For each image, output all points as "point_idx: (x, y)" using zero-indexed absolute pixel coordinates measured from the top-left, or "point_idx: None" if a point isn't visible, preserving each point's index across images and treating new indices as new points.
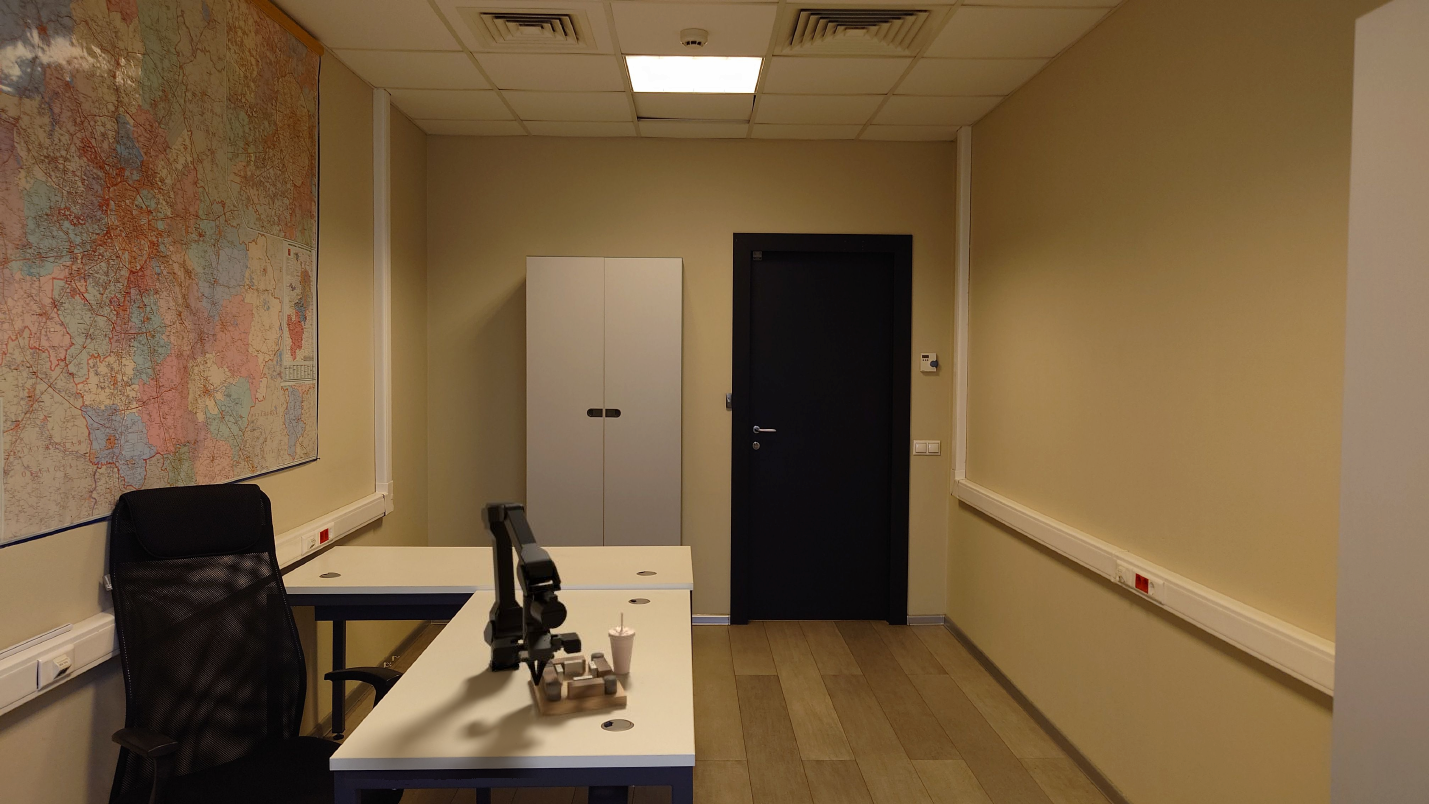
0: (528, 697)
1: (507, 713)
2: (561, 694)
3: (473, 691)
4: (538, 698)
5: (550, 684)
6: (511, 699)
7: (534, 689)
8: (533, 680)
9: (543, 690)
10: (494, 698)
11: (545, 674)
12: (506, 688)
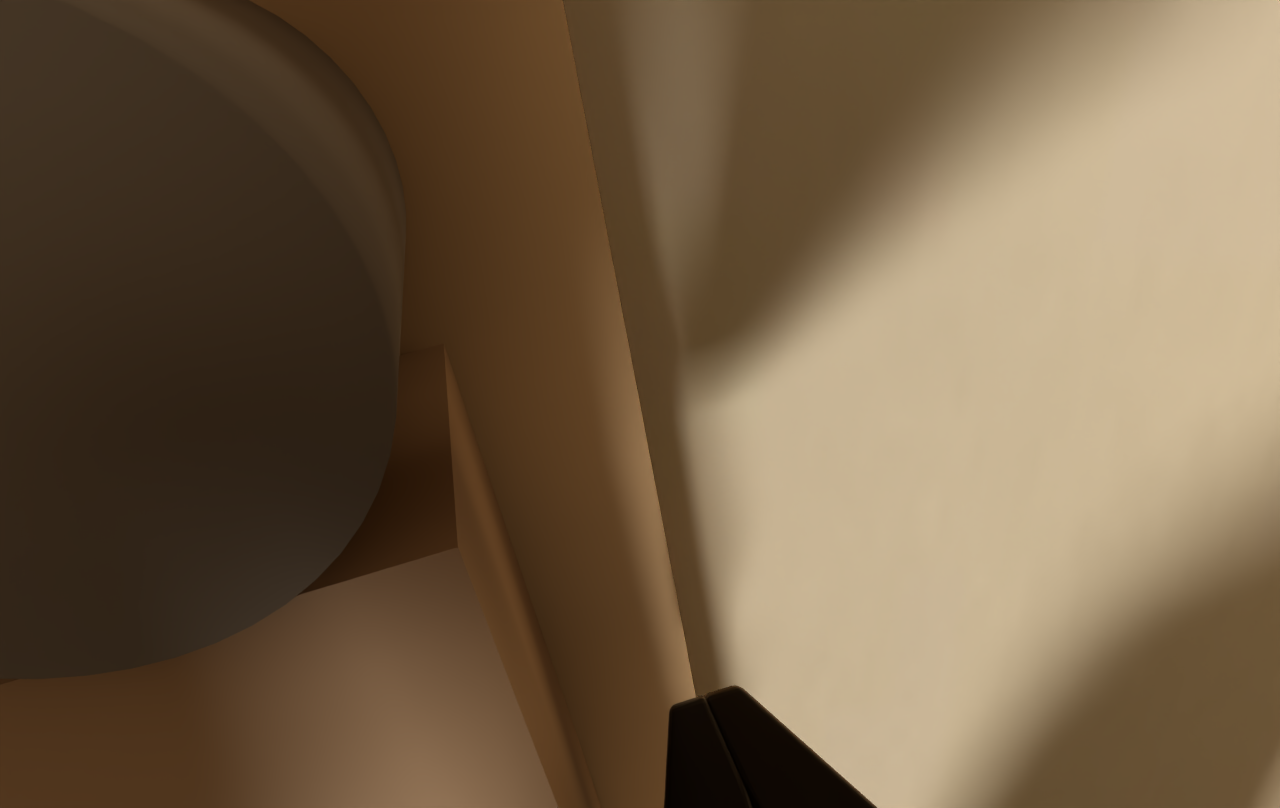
0: (753, 580)
1: (1097, 57)
2: None
3: (1276, 673)
4: (622, 337)
5: (199, 370)
6: (968, 522)
7: None
8: (826, 767)
9: (551, 632)
10: (1142, 542)
11: None
12: (980, 757)
